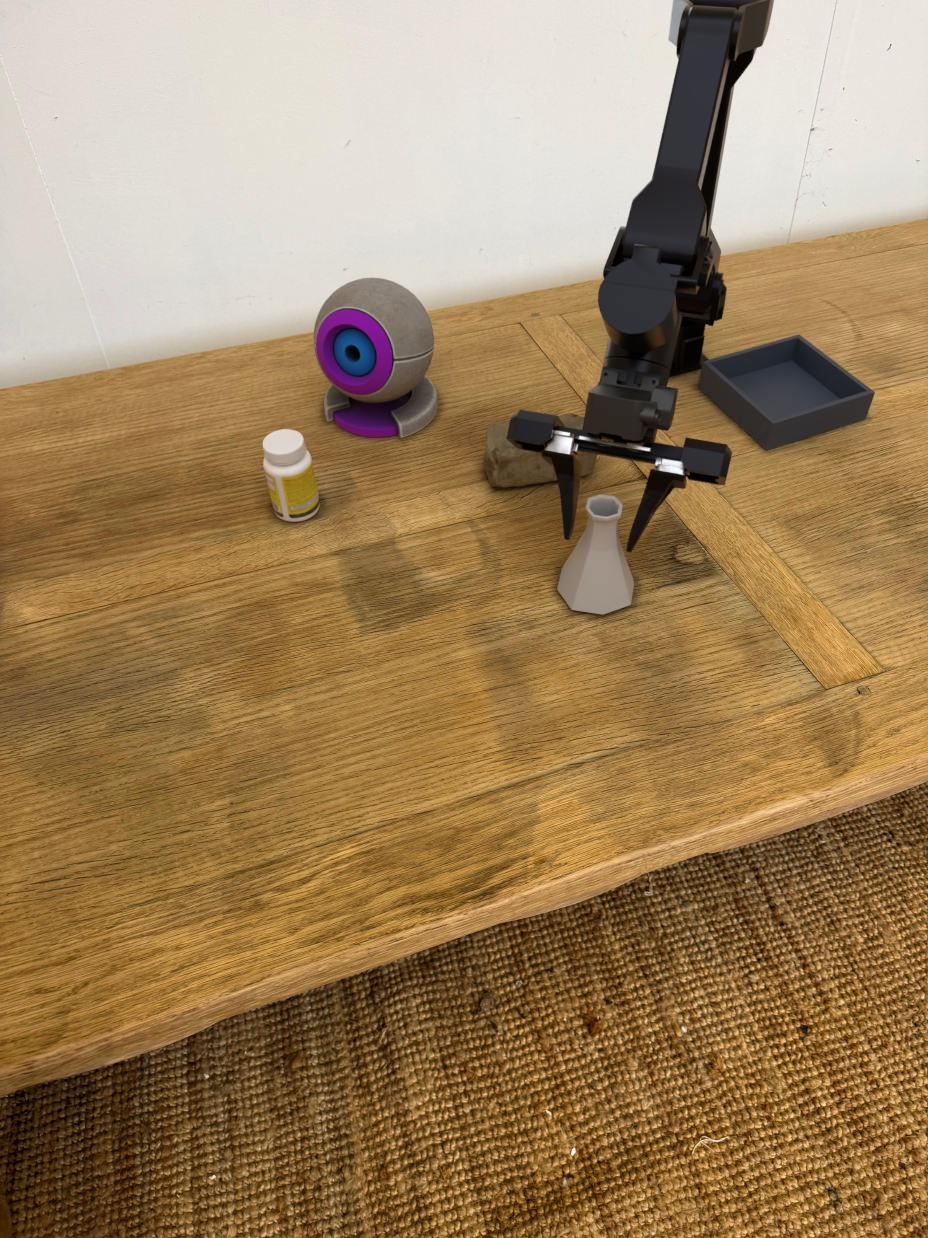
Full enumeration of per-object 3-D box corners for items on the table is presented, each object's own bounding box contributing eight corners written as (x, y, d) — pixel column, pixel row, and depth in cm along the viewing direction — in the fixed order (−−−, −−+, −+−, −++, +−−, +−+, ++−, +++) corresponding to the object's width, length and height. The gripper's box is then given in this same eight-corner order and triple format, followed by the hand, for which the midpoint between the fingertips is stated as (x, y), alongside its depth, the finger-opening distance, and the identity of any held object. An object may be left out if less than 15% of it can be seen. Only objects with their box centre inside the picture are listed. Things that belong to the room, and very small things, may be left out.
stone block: (598, 478, 98) (601, 439, 94) (491, 495, 96) (490, 456, 93) (582, 445, 102) (585, 406, 98) (479, 461, 100) (477, 423, 97)
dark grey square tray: (697, 387, 108) (702, 361, 106) (792, 360, 112) (799, 333, 109) (766, 450, 100) (773, 423, 97) (866, 419, 103) (875, 391, 101)
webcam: (305, 426, 105) (282, 303, 94) (356, 367, 113) (340, 247, 102) (410, 450, 102) (399, 325, 91) (455, 387, 110) (450, 265, 99)
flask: (551, 564, 89) (555, 482, 82) (626, 558, 89) (637, 475, 82) (562, 619, 84) (568, 537, 77) (642, 613, 85) (655, 530, 77)
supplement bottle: (328, 498, 97) (316, 431, 91) (308, 527, 94) (294, 460, 88) (286, 489, 98) (272, 422, 92) (265, 518, 95) (249, 451, 89)
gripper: (513, 324, 74) (473, 517, 76) (753, 359, 70) (706, 564, 71) (537, 359, 85) (501, 528, 86) (746, 391, 81) (705, 569, 82)
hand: (597, 545), depth 81 cm, fingers open, 5 cm apart
